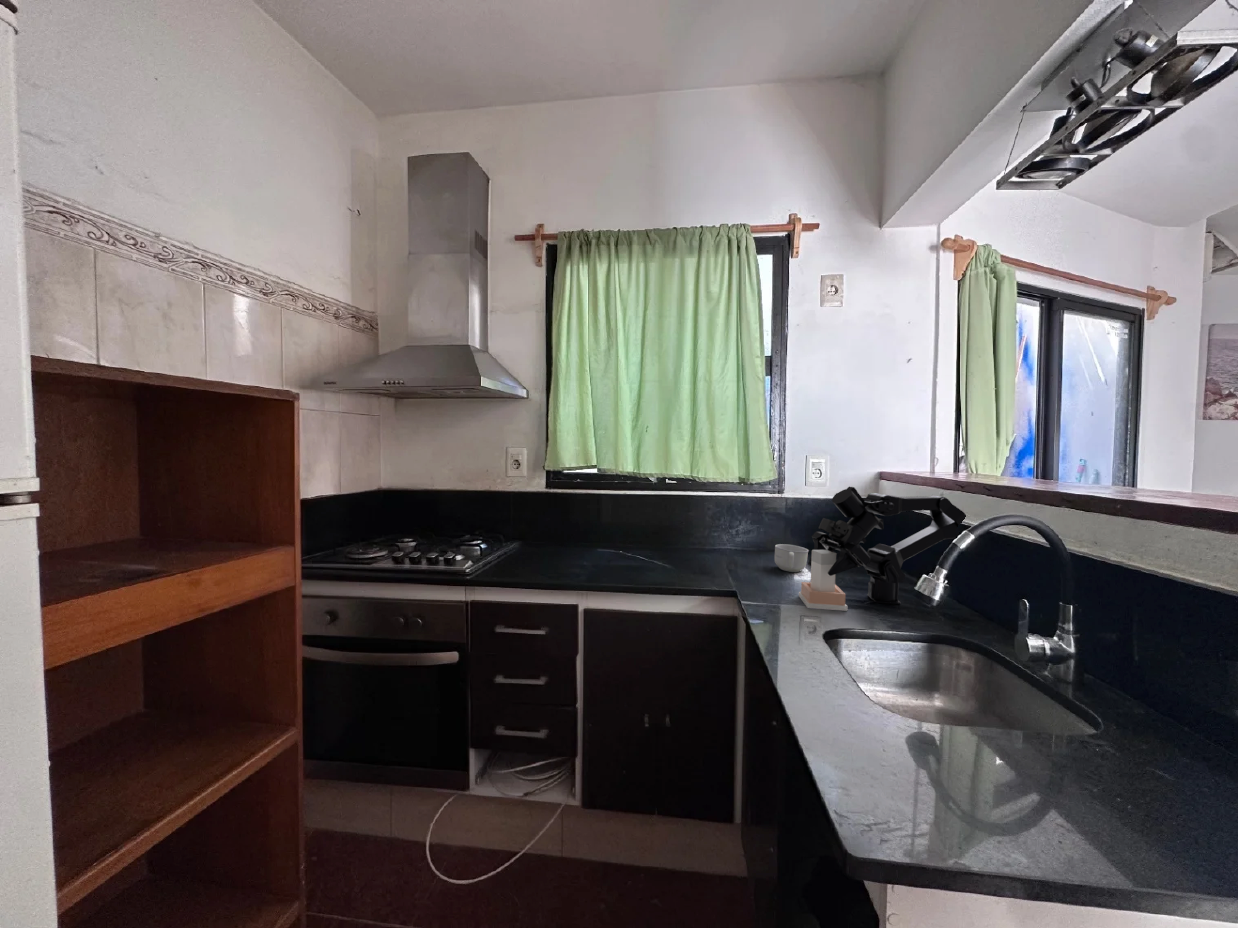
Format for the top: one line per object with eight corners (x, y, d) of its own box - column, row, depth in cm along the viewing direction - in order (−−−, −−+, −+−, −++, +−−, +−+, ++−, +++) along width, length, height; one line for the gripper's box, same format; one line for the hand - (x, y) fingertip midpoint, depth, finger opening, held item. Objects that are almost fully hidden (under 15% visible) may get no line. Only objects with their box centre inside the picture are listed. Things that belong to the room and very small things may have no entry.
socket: (835, 598, 132) (836, 583, 131) (847, 610, 122) (848, 594, 122) (798, 595, 133) (799, 581, 133) (807, 607, 123) (808, 592, 123)
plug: (824, 595, 130) (826, 549, 129) (834, 600, 126) (836, 553, 125) (810, 596, 129) (811, 549, 129) (819, 601, 125) (821, 553, 124)
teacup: (777, 564, 168) (778, 542, 168) (809, 568, 162) (810, 546, 162) (768, 573, 156) (769, 549, 156) (803, 578, 151) (803, 554, 150)
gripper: (818, 504, 136) (782, 542, 135) (862, 514, 118) (820, 558, 116) (842, 530, 138) (806, 568, 136) (888, 544, 119) (847, 588, 118)
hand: (818, 569), depth 127 cm, fingers open, 9 cm apart
